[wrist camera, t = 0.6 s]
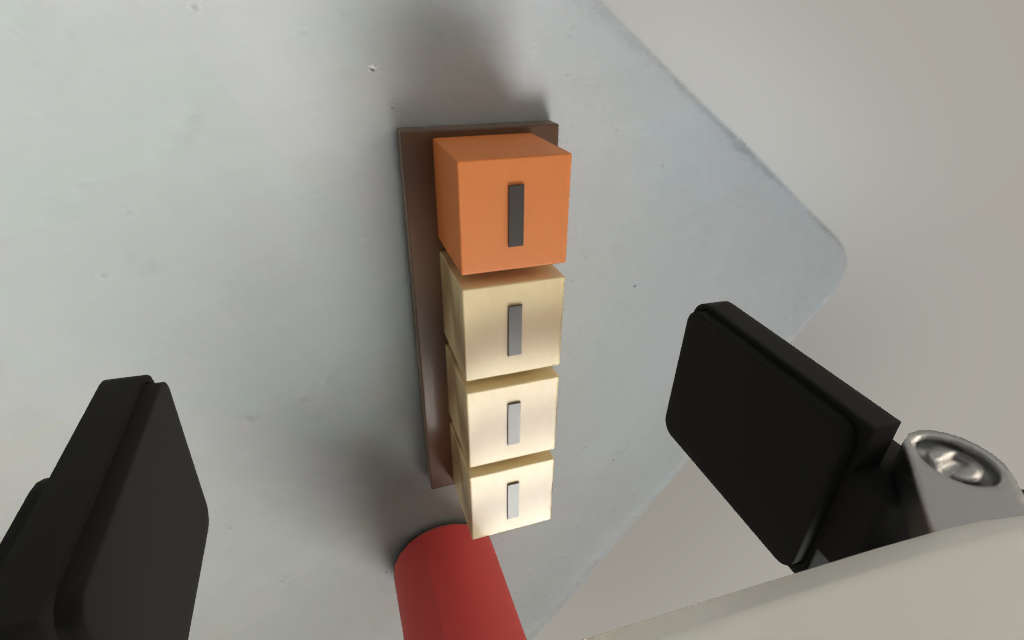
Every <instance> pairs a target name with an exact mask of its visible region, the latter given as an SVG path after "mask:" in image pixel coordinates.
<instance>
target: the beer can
mask: <svg viewBox="0 0 1024 640" xmlns="http://www.w3.org/2000/svg"><path fill="white" fill-rule="evenodd" d="M394 580H395V586H396V593H397V599H398V605H399V611H400V617H401V624H402V630H403V636H404V640H526V637H525V634H524V631H523V628H522V626H521V623H520V620H519V617H518V615H517V612H516V609H515V606H514V603H513V601H512V598H511V595H510V592H509V589H508V587H507V584H506V581H505V578H504V575H503V573H502V570H501V567H500V564H499V561H498V559H497V556H496V553H495V550H494V547H493V545H492V542H491V540H490V537H489V536H485V537H481V538H477V539H474V540H473V539H472V537H471V534H470V531H469V528H468V525H467V524H454V523H451V524H447V525H442V526H437V527H435V528H432V529H430V530H428V531H425V532H423V533H421V534H420V535H419V536H417V537H416V538H414V539H413V540H412V541H410V542H409V544H408V545H407V546H406V547H405V548H404V550H403V551H402V552H401V553H400V555H399V557H398V560H397V562H396V564H395V567H394Z"/></svg>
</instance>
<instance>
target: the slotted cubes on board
mask: <svg viewBox="0 0 1024 640" xmlns="http://www.w3.org/2000/svg"><path fill="white" fill-rule="evenodd" d="M558 127H559V125H558V124H557V123H554V122H552V121H532V122H511V123H490V124H470V125H449V126H428V127H407V128H398V129H397V136H398V147H399V158H400V169H401V180H402V191H403V202H404V213H405V224H406V236H407V247H408V258H409V269H410V280H411V291H412V302H413V313H414V324H415V335H416V347H417V358H418V369H419V380H420V391H421V402H422V413H423V424H424V435H425V446H426V458H427V469H428V479H429V482H430V486H431V489H435V488H439V487H443V486H448V485H452V484H454V485H455V488H456V491H457V494H458V497H459V500H460V503H461V506H462V509H463V513H464V516H465V519H466V522H467V525H468V528H469V531H470V534H471V537H472V539H473V540H474V539H477V538H481V537H485V536H489V535H492V534H496V533H500V532H504V531H508V530H511V529H515V528H519V527H523V526H526V525H530V524H534V523H538V522H541V521H545V520H549V519H550V518H551V501H552V484H553V466H554V458H553V456H552V454H551V452H550V451H549V450H550V449H554V448H555V432H556V414H557V397H558V380H559V376H558V374H557V373H556V372H555V370H554V369H553V367H552V366H553V365H559V363H560V346H561V329H562V312H563V294H564V276H563V275H562V274H561V273H560V272H559V271H558V270H557V269H556V268H555V267H554V266H553V265H552V264H547V265H540V266H532V267H524V268H516V269H508V270H500V271H492V272H484V273H476V274H469V275H461V273H460V272H459V270H458V268H457V267H456V265H455V263H454V262H453V260H452V258H451V257H450V255H449V254H448V252H447V250H446V249H445V247H444V245H443V244H442V242H441V241H440V239H439V237H438V221H437V204H436V188H435V171H434V155H433V138H443V137H462V136H480V135H499V134H517V133H532V134H534V135H536V136H538V137H540V138H542V139H544V140H546V141H548V142H550V143H552V144H554V145H556V146H558Z"/></svg>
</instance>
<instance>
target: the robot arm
mask: <svg viewBox="0 0 1024 640" xmlns="http://www.w3.org/2000/svg"><path fill="white" fill-rule="evenodd" d="M900 423H901V422H900V421H899V420H898V419H896V418H895V417H893V416H892V415H891V414H889V413H888V412H886V411H885V410H883V409H882V408H881V407H879V406H877V405H876V404H875V403H873V402H872V401H871V400H869V399H868V398H866V397H865V396H863V395H862V394H860V393H859V392H858V391H856V390H855V389H854V388H852V387H851V386H849V385H848V384H846V383H845V382H844V381H842V380H841V379H839V378H838V377H836V376H835V375H833V374H832V373H831V372H829V371H828V370H826V369H825V368H824V367H822V366H821V365H819V364H818V363H816V362H815V361H813V360H812V359H811V358H809V357H807V356H806V355H804V354H803V353H802V352H800V351H799V350H798V349H796V348H795V347H793V346H792V345H791V344H789V343H788V342H786V341H785V340H783V339H782V338H781V337H779V336H778V335H776V334H775V333H773V332H772V331H771V330H769V329H768V328H766V327H765V326H763V325H762V324H761V323H759V322H758V321H756V320H755V319H753V318H752V317H751V316H749V315H748V314H746V313H745V312H743V311H742V310H741V309H739V308H738V307H736V306H735V305H733V304H732V303H730V302H728V301H722V302H714V303H707V304H701V305H699V306H697V308H696V309H695V310H694V312H693V313H691V314H690V316H689V318H688V320H687V325H686V329H685V334H684V338H683V343H682V347H681V351H680V356H679V360H678V365H677V369H676V373H675V378H674V382H673V387H672V391H671V395H670V400H669V404H668V409H667V413H666V426H667V429H668V431H669V433H670V435H671V436H672V437H673V438H674V439H675V441H676V442H677V443H678V444H679V445H680V446H681V448H682V449H683V450H684V451H685V452H686V454H687V455H688V456H689V457H690V458H691V459H692V461H693V462H694V463H695V464H696V465H697V466H698V468H699V469H700V470H701V471H702V472H703V473H704V475H705V476H706V477H707V478H708V479H709V480H710V482H711V483H712V484H713V485H714V486H715V488H716V489H717V490H718V491H719V492H720V493H721V495H722V496H723V497H724V498H725V499H726V500H727V502H728V503H729V504H730V505H731V506H732V507H733V509H734V510H735V511H736V512H737V513H738V515H739V516H740V517H741V518H742V519H743V520H744V522H745V523H746V524H747V525H748V526H749V528H750V529H751V530H752V531H753V532H754V533H755V535H756V536H757V537H758V538H759V539H760V540H761V542H762V543H763V544H764V545H765V546H766V547H767V549H768V550H769V551H770V552H771V553H772V555H773V556H774V557H775V558H776V559H777V560H778V561H779V562H780V563H782V564H784V565H788V566H789V567H790V569H791V570H792V571H793V572H794V573H795V574H792V575H789V576H785V577H782V578H779V579H776V580H772V581H769V582H766V583H763V584H759V585H756V586H753V587H749V588H746V589H743V590H740V591H737V592H734V593H730V594H727V595H724V596H721V597H717V598H714V599H711V600H708V601H705V602H702V603H698V604H695V605H692V606H689V607H686V608H682V609H679V610H676V611H673V612H670V613H667V614H663V615H660V616H657V617H654V618H650V619H647V620H644V621H641V622H638V623H635V624H631V625H628V626H625V627H622V628H619V629H616V630H612V631H609V632H606V633H603V634H600V635H597V636H594V637H590V638H588V639H584V640H1024V490H1022V489H1020V487H1019V485H1018V483H1017V481H1016V480H1015V478H1014V476H1013V474H1012V473H1011V472H1010V470H1009V469H1008V468H1007V467H1006V465H1005V464H1004V463H1003V462H1001V461H1000V460H999V459H998V458H997V457H996V456H994V455H993V454H992V453H990V452H988V451H987V450H985V449H983V448H982V447H980V446H979V445H976V444H974V443H972V442H970V441H968V440H965V439H963V438H961V437H958V436H954V435H951V434H948V433H944V432H938V431H932V430H918V431H915V432H912V433H910V434H908V436H907V437H906V438H905V440H904V442H903V443H902V445H899V444H898V443H897V442H895V441H894V440H893V438H894V435H895V433H896V431H897V429H898V427H899V425H900ZM208 526H209V516H208V508H207V504H206V501H205V498H204V495H203V492H202V489H201V486H200V482H199V479H198V476H197V473H196V470H195V467H194V464H193V461H192V457H191V454H190V451H189V448H188V445H187V442H186V439H185V436H184V433H183V429H182V426H181V423H180V420H179V417H178V414H177V411H176V408H175V404H174V401H173V398H172V395H171V392H170V389H169V387H168V385H167V384H166V383H165V382H160V383H154V381H153V379H152V378H151V376H149V375H141V376H133V377H125V378H117V379H109V380H104V381H102V382H101V384H100V385H99V387H98V389H97V390H96V392H95V394H94V396H93V398H92V400H91V402H90V403H89V405H88V407H87V409H86V411H85V413H84V415H83V416H82V418H81V420H80V422H79V424H78V426H77V428H76V429H75V431H74V433H73V435H72V437H71V439H70V441H69V442H68V444H67V446H66V448H65V450H64V452H63V454H62V455H61V457H60V459H59V461H58V463H57V465H56V467H55V468H54V470H53V472H52V474H51V476H50V478H46V479H43V480H41V481H39V482H38V483H36V484H35V486H34V487H33V488H32V490H31V491H30V492H29V494H28V496H27V497H26V499H25V501H24V503H23V504H22V506H21V508H20V510H19V512H18V513H17V515H16V517H15V519H14V520H13V522H12V524H11V526H10V528H9V529H8V531H7V533H6V535H5V536H4V538H3V540H2V542H1V544H0V640H188V637H189V631H190V626H191V620H192V615H193V609H194V604H195V599H196V593H197V588H198V582H199V577H200V571H201V566H202V560H203V555H204V549H205V544H206V538H207V533H208Z"/></svg>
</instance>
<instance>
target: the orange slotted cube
mask: <svg viewBox="0 0 1024 640" xmlns="http://www.w3.org/2000/svg"><path fill="white" fill-rule="evenodd" d="M433 155H434V171H435V188H436V204H437V221H438V237H439V239H440V241H441V242H442V244H443V245H444V247H445V249H446V250H447V252H448V254H449V255H450V257H451V258H452V260H453V262H454V263H455V265H456V267H457V268H458V270H459V272H460V273H461V275H469V274H476V273H484V272H492V271H500V270H508V269H516V268H524V267H532V266H540V265H547V264H555V263H563V262H565V259H566V242H567V225H568V207H569V190H570V173H571V156H572V155H571V153H569V152H567V151H565V150H564V149H562V148H560V147H558V146H556V145H554V144H552V143H550V142H548V141H546V140H544V139H542V138H540V137H538V136H536V135H534V134H532V133H517V134H499V135H480V136H462V137H443V138H433Z"/></svg>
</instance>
